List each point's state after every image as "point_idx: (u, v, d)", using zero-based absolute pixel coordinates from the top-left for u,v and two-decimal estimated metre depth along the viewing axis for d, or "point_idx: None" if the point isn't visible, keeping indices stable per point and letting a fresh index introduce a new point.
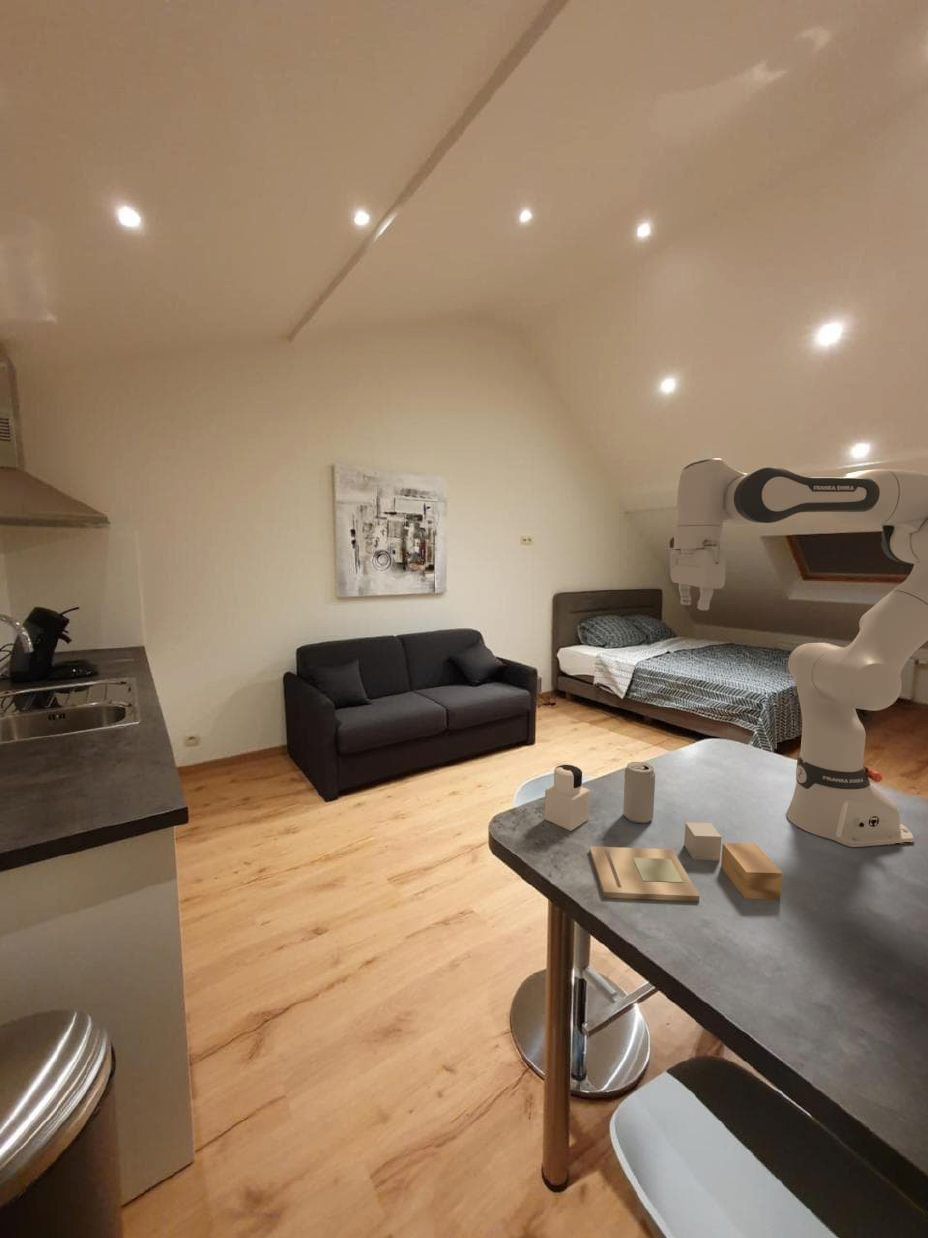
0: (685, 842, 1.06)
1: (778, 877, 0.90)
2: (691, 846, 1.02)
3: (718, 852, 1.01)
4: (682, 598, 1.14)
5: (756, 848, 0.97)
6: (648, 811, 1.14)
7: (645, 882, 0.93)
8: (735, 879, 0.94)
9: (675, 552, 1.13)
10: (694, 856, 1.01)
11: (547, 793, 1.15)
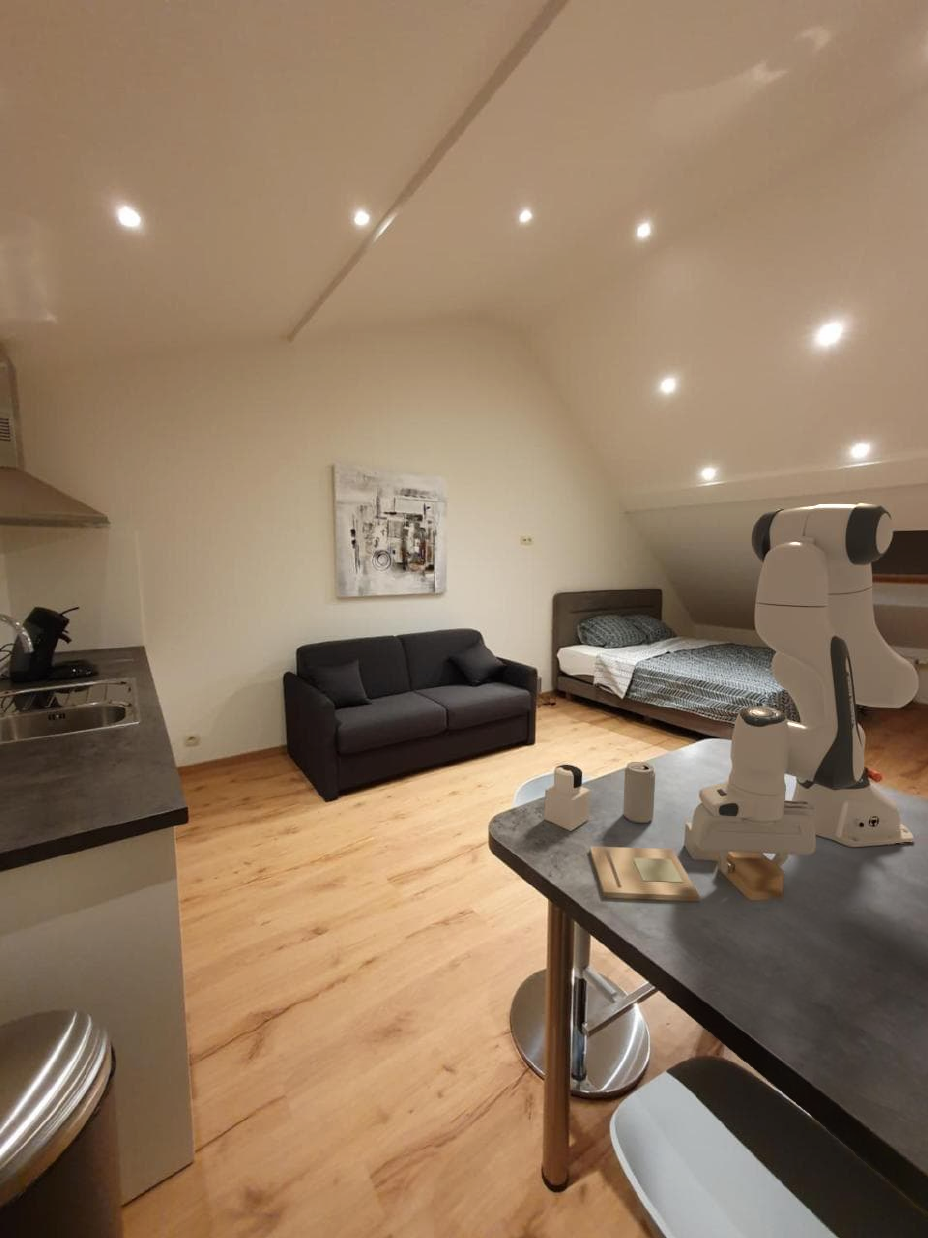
0: (685, 842, 1.06)
1: (780, 876, 0.90)
2: (691, 846, 1.02)
3: None
4: (730, 867, 0.94)
5: None
6: (648, 811, 1.14)
7: (645, 882, 0.93)
8: (737, 881, 0.93)
9: (734, 820, 0.90)
10: (694, 856, 1.01)
11: (547, 793, 1.15)
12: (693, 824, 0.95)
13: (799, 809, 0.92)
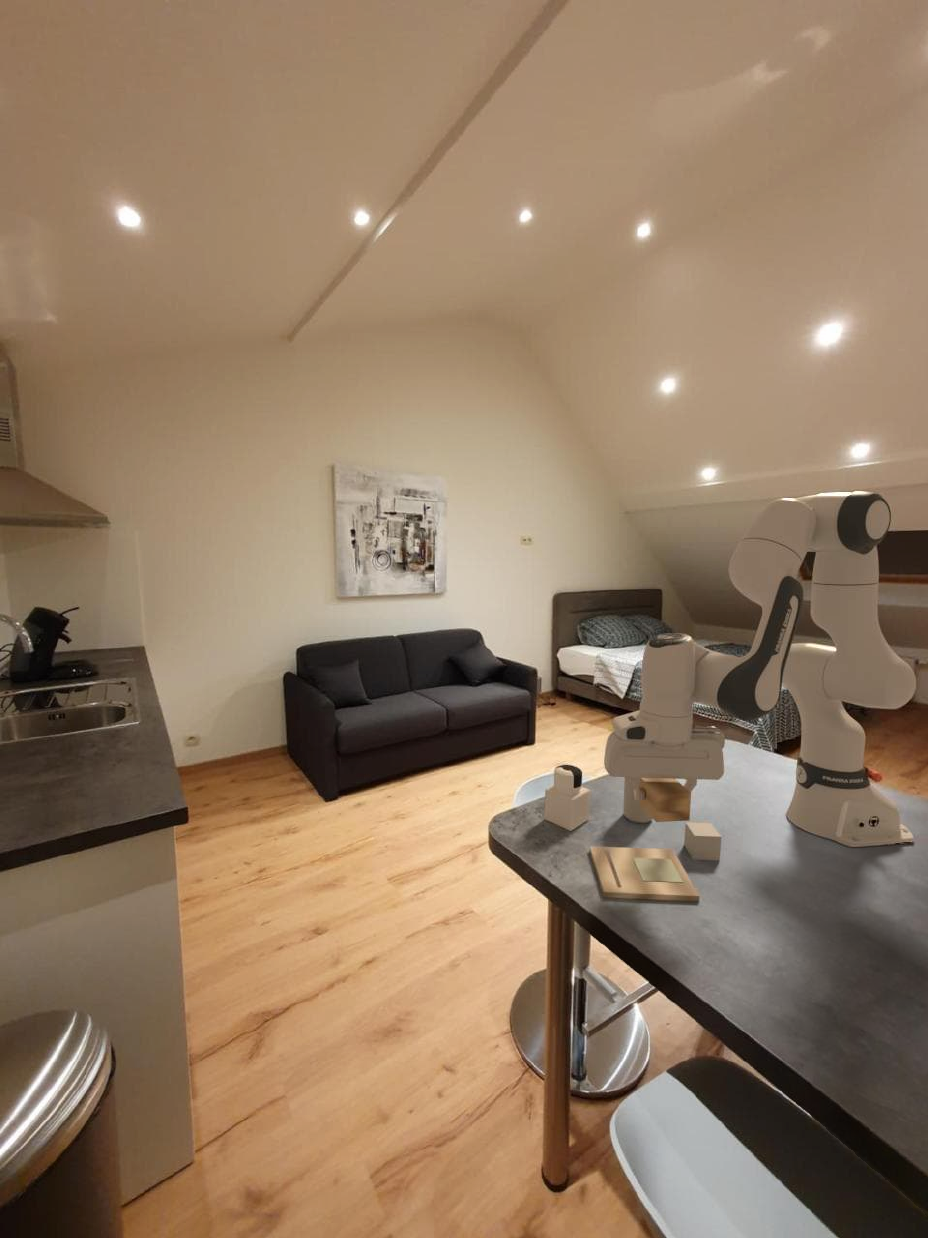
0: (685, 842, 1.06)
1: (687, 797, 0.90)
2: (691, 846, 1.02)
3: (718, 852, 1.01)
4: (642, 793, 0.94)
5: None
6: None
7: (645, 882, 0.93)
8: (647, 805, 0.93)
9: (641, 744, 0.91)
10: (694, 856, 1.01)
11: (547, 793, 1.15)
12: (605, 752, 0.95)
13: (708, 734, 0.92)
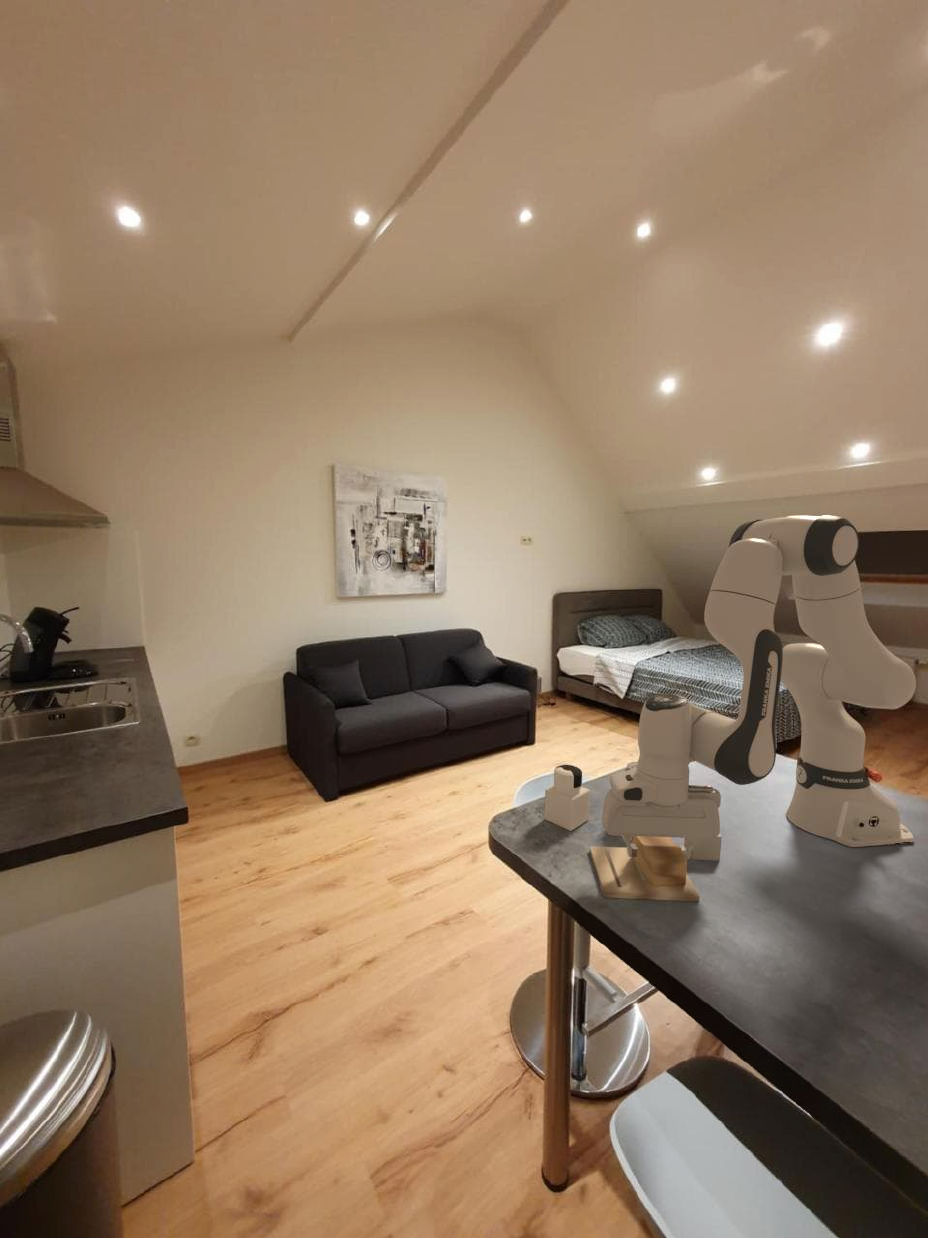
0: None
1: (683, 862, 0.92)
2: None
3: (718, 852, 1.01)
4: (634, 851, 0.95)
5: None
6: None
7: (645, 882, 0.93)
8: (644, 867, 0.95)
9: (639, 804, 0.92)
10: (694, 856, 1.01)
11: (547, 793, 1.15)
12: (603, 809, 0.97)
13: (704, 793, 0.94)
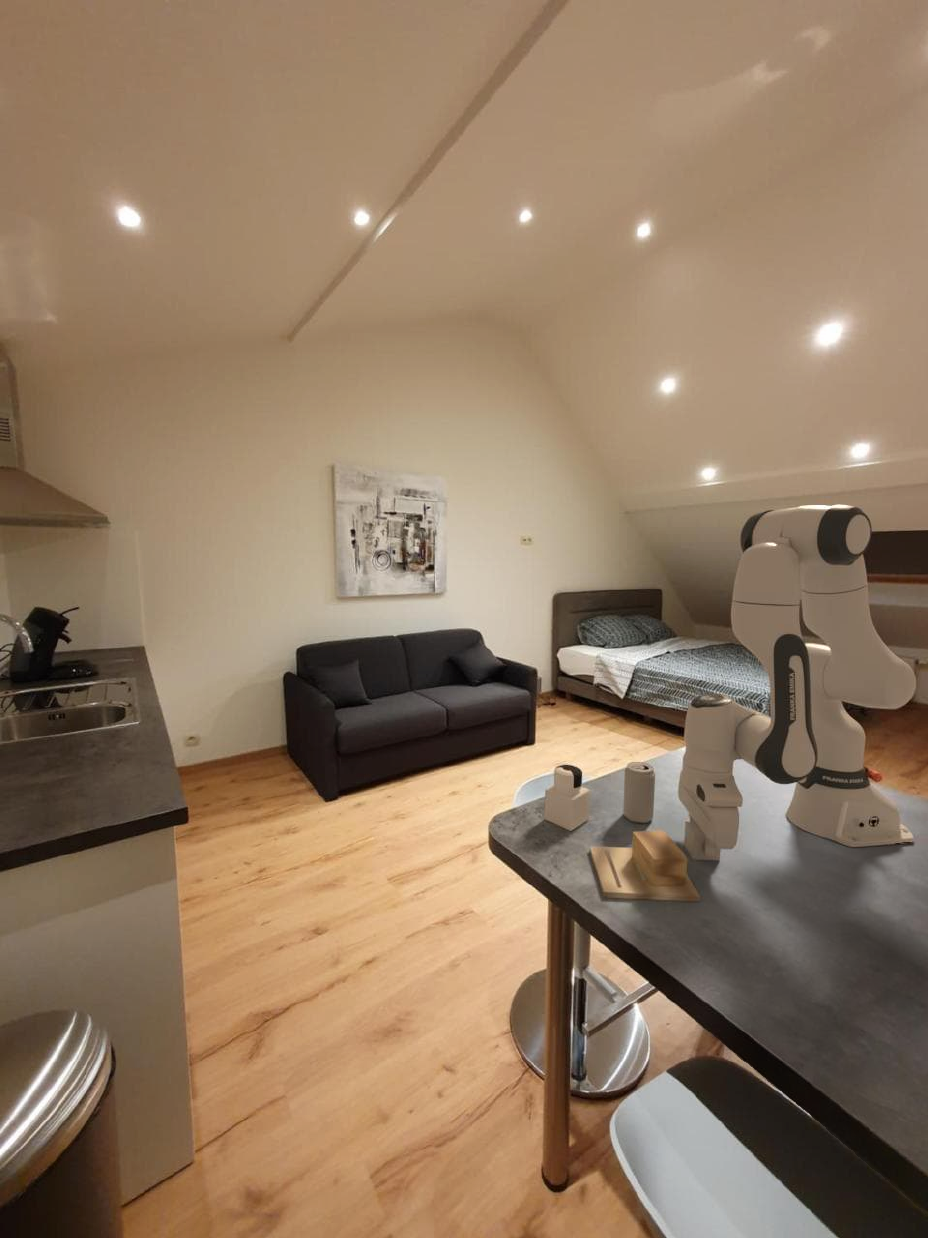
0: (685, 842, 1.06)
1: (683, 862, 0.92)
2: (691, 845, 1.02)
3: (718, 852, 1.01)
4: None
5: (664, 835, 0.99)
6: (648, 811, 1.14)
7: (645, 882, 0.93)
8: (644, 867, 0.95)
9: None
10: (694, 855, 1.01)
11: (547, 793, 1.15)
12: (720, 832, 0.93)
13: None
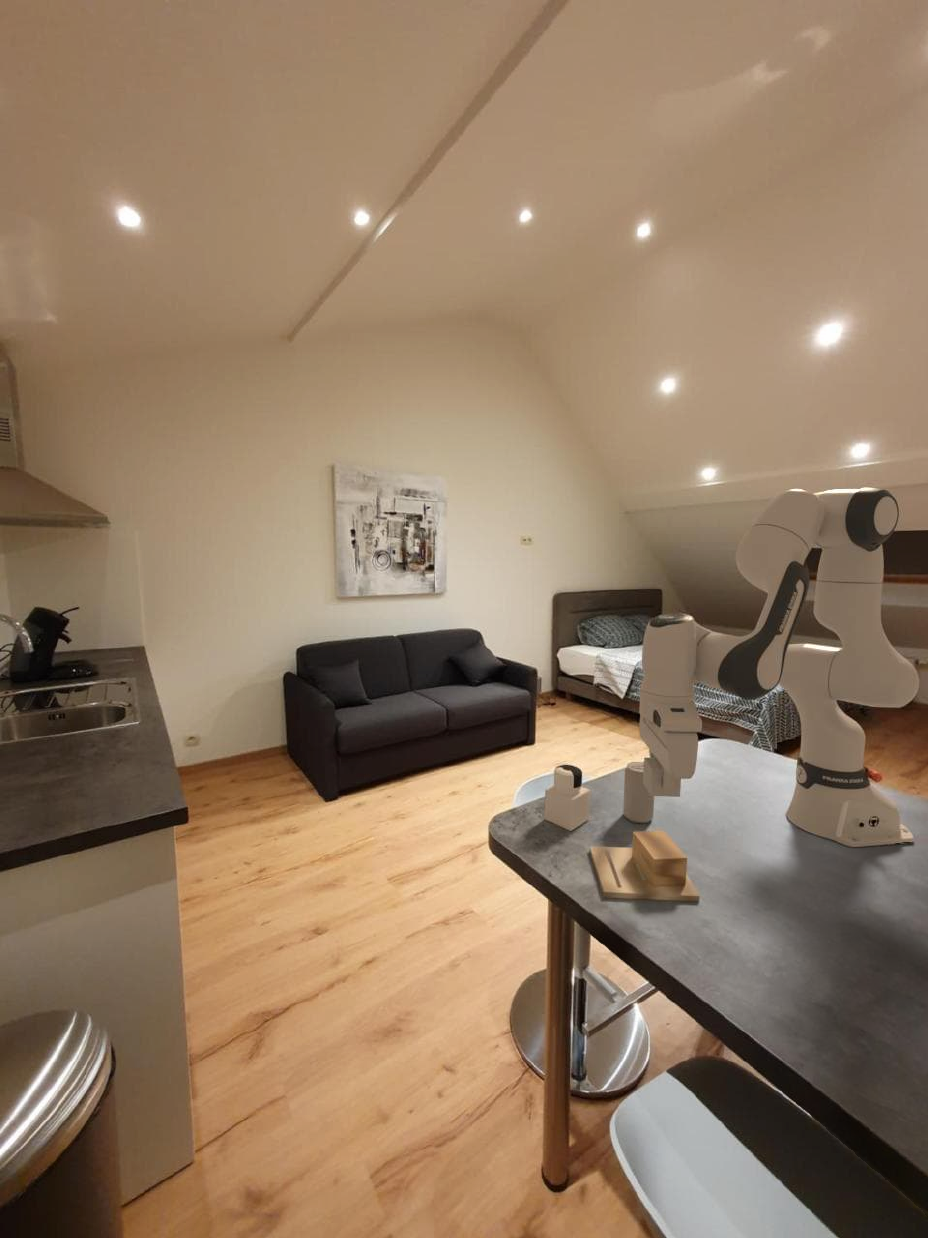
0: (643, 780, 0.96)
1: (683, 862, 0.92)
2: (649, 781, 0.93)
3: (678, 787, 0.92)
4: None
5: (664, 835, 0.99)
6: (648, 811, 1.14)
7: (645, 882, 0.93)
8: (644, 867, 0.95)
9: None
10: (652, 791, 0.92)
11: (547, 793, 1.15)
12: (676, 759, 0.83)
13: None
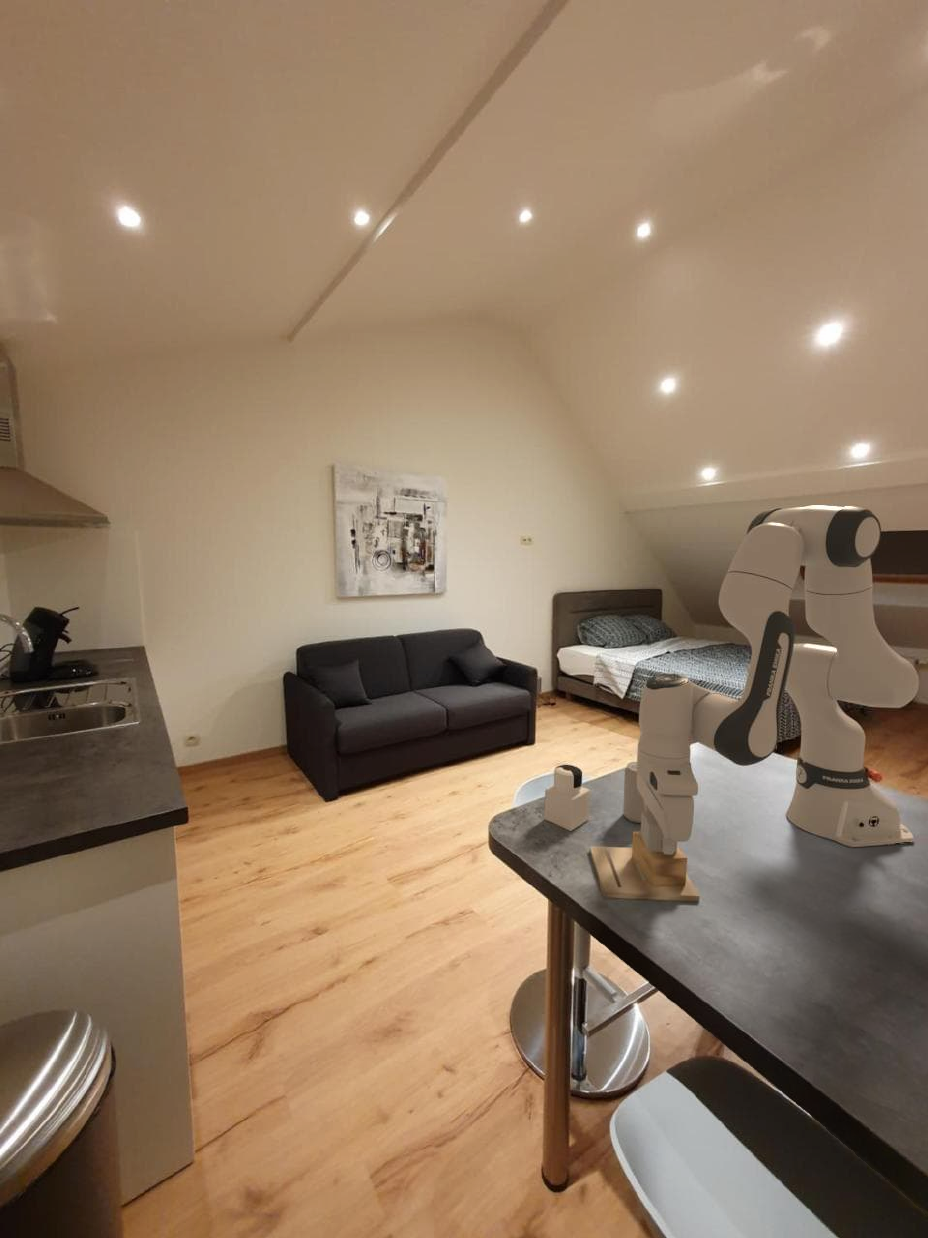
0: (641, 833, 0.98)
1: (683, 862, 0.92)
2: (646, 836, 0.94)
3: None
4: None
5: None
6: None
7: (645, 882, 0.93)
8: (644, 867, 0.95)
9: None
10: (649, 847, 0.93)
11: (547, 793, 1.15)
12: (673, 823, 0.85)
13: None
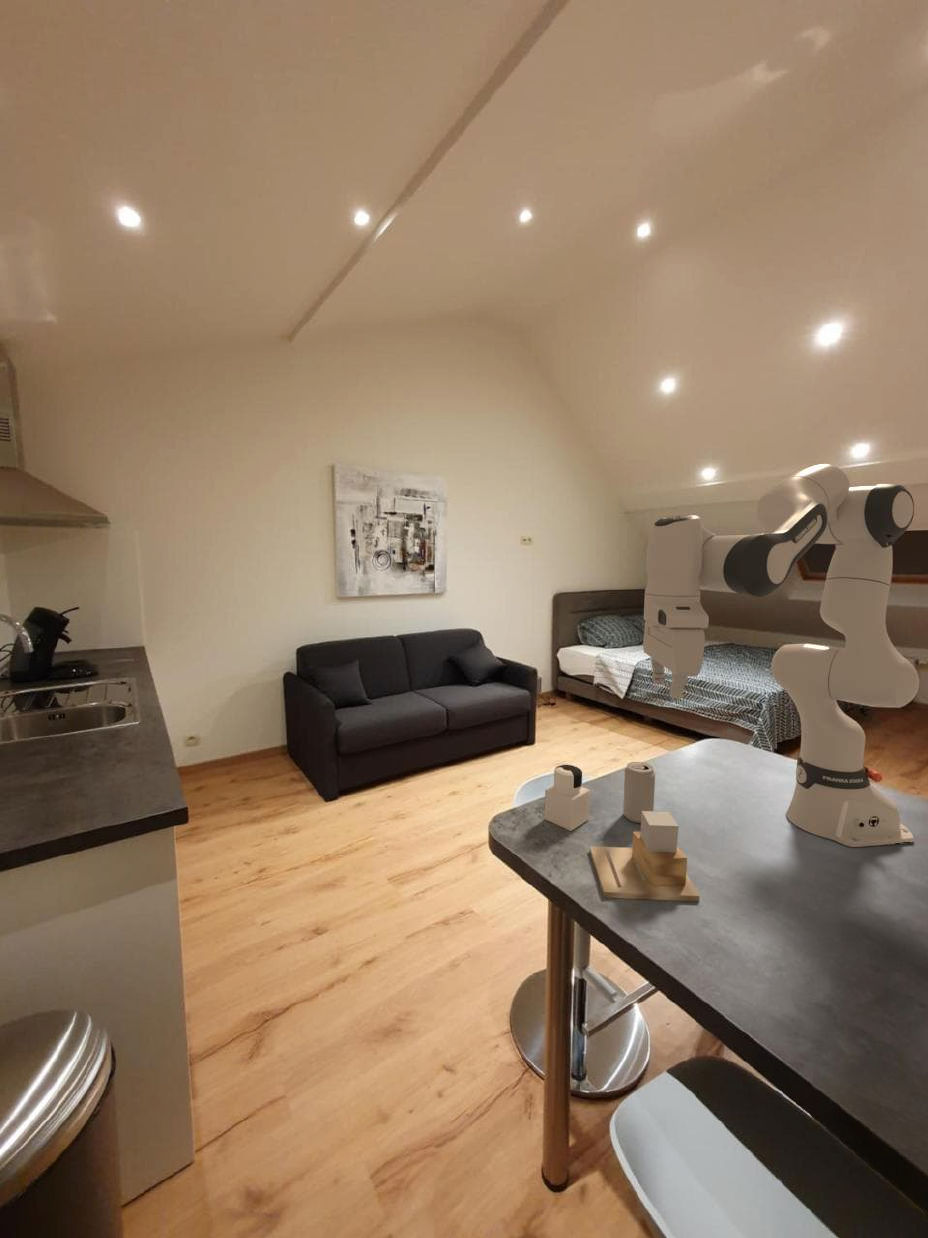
0: (641, 833, 0.98)
1: (683, 862, 0.92)
2: (646, 836, 0.94)
3: (675, 843, 0.93)
4: None
5: None
6: None
7: (645, 882, 0.93)
8: (644, 867, 0.95)
9: None
10: (649, 847, 0.93)
11: (547, 793, 1.15)
12: (682, 654, 0.81)
13: None
